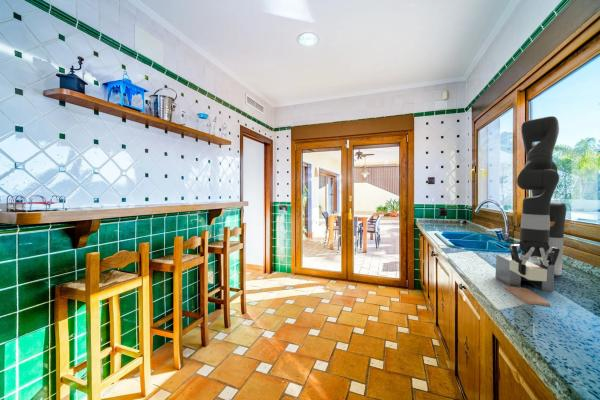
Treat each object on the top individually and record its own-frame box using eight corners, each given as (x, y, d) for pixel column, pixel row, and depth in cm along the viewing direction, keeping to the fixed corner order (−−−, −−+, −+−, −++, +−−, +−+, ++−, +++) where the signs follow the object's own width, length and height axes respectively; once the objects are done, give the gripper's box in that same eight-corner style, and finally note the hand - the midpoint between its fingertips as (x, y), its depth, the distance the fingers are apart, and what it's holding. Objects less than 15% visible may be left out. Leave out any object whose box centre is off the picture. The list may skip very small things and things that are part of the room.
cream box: (509, 269, 100) (509, 258, 99) (524, 270, 98) (525, 259, 98) (529, 280, 88) (529, 268, 88) (546, 281, 87) (547, 269, 87)
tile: (505, 288, 101) (505, 286, 101) (526, 290, 99) (526, 288, 99) (525, 303, 88) (525, 300, 88) (550, 305, 86) (550, 303, 86)
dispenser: (495, 276, 114) (496, 254, 114) (534, 280, 110) (535, 256, 110) (510, 287, 102) (511, 262, 101) (554, 291, 98) (555, 265, 98)
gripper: (552, 226, 91) (549, 274, 92) (505, 224, 95) (502, 270, 96) (568, 230, 84) (565, 281, 85) (516, 227, 88) (513, 276, 89)
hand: (532, 275), depth 90 cm, fingers closed on cream box, 5 cm apart
